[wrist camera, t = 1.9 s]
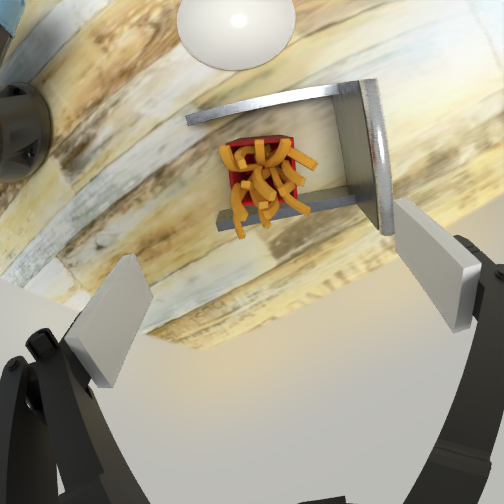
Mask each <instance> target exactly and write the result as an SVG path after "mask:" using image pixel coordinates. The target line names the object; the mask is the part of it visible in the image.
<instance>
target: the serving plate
mask: <svg viewBox="0 0 504 504" xmlns="http://www.w3.org/2000/svg"><path fill="white" fill-rule="evenodd" d="M294 26H295V10H294V6H293V3H292V0H182V2H181V5H180V7H179V10H178V15H177V29H178V33H179V36H180V39H181V41H182V43H183V45H184V46H185V47H186V49H187V50H188V51H189V52H190V53H191V54H192V55H193V56H194V57H195V58H197V59H198V60H200V61H201V62H203V63H205V64H207V65H209V66H212V67H215V68H218V69H224V70H245V69H250V68H254V67H257V66H260V65H262V64H264V63H266V62H268V61H270V60H271V59H273V58H274V57H275V56H277V55H278V54H279V53H280V52H281V51H282V50H283V49H284V47H285V46H286V45H287V43H288V42H289V40H290V38H291V36H292V33H293V30H294Z"/></svg>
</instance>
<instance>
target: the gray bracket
mask: <svg viewBox="0 0 504 504" xmlns="http://www.w3.org/2000/svg"><path fill="white" fill-rule="evenodd" d="M328 95H332V100H333V105H334V110H335V115H336V120H337V125H338V131H339V136H340V142H341V148H342V154H343V160H344V167H345V173H346V180H347V186H342V187H336V188H331V189H326V190H320V191H315V192H310V193H305V194H300V195H297V200H298V201H299V202H301V203H303V204H305V205H307V206H309V207H311V212H310V213H312V212H317V211H322V210H327V209H332V208H338V207H343V206H348V205H353V204H357V205H358V206H359V207H360V209H361V210H362V211H363V212H364V213H365V215H366V216H367V217H368V218H369V220H370V221H371V222H372V223H373V225H374V226H375V227H376V228H377V230H379V231H380V234H381V235H384V236H390V235H393V234H395V228H394V211H393V200H394V197H393V185H392V174H391V165H390V156H389V147H388V140H387V132H386V126H385V119H384V113H383V107H382V101H381V95H380V90H379V85H378V80H377V78H376V79H365V80H357V81H350V82H344V83H338V84H331V85H324V86H317V87H310V88H304V89H298V90H293V91H287V92H282V93H276V94H271V95H267V96H262V97H257V98H252V99H248V100H244V101H239V102H235V103H231V104H227V105H223V106H219V107H215V108H211V109H208V110H204V111H200V112H197V113H193V114H190V115H187V116H186V120H187V124H188V126H189V125H193V124H196V123H200V122H203V121H207V120H211V119H215V118H219V117H223V116H226V115H231V114H235V113H239V112H243V111H247V110H252V109H256V108H261V107H266V106H271V105H276V104H281V103H286V102H291V101H297V100H303V99H309V98H315V97H321V96H328ZM268 206H269V204H268ZM244 208H245V209H246V211H247V212H248V214H249V215H248V217H247V219H246V221H240V222H241V226H242V227H243V226H248V225H252V224H257V223H261V221H260V218H259V215H258V208H257V207H256V206H255V205H248V206H244ZM265 209H266V208H265ZM233 214H234V212H233V210H232V209H228V210H224V211H220V212H219V215H218V218H217V221H216V225H217V228H218V232H219V231H224V230H229V229H233V228H235V226H234V222H233ZM297 215H302V213H300V212H298V211H297V210H295V209H294V208H292V207H291V206H290V205H288V204H287V203H279V209H278V211H277V212H276V214H275V215H274V216H273V217H272V218H271V219H269V221H272V220H277V219H282V218H287V217H292V216H297Z"/></svg>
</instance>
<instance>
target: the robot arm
mask: <svg viewBox="0 0 504 504" xmlns="http://www.w3.org/2000/svg"><path fill="white" fill-rule="evenodd" d="M24 9H25V0H0V68H1V65H2V62H3V60H4V57H5V55H6V52H7V50H8V47H9V45H10V43H11V40H12V38H14V37H15V30H16V27H17V25H18V23H19V20H20V18H21V16H22V14H23V11H24ZM49 138H50V120H49V114H48V110H47V107H46V104H45V102H44V100H43V98H42V96H41V95H40V93H39V92H38V91H37V90H36V89H35V88H33V87H32V86H30V85H28V84H25V83H10V84H5V85H2V86H0V183H14V182H17V181H20V180H22V179H24V178H26V177H28V176H30V175H31V174H32V173H34V172H35V171H36V170H37V168H38V167H39V166H40V164H41V163H42V161H43V159H44V157H45V154H46V152H47V148H48V144H49ZM393 211H394V228H395V251H396V252H397V253H398V255H399V256H400V257H401V259H402V260H403V261H404V263H405V264H406V265H407V267H408V268H409V269H410V271H411V272H412V274H413V275H414V276H415V278H416V279H417V280H418V282H419V283H420V285H421V286H422V287H423V289H424V290H425V292H426V293H427V295H428V296H429V298H430V299H431V300H432V302H433V303H434V305H435V306H436V308H437V309H438V311H439V312H440V314H441V315H442V317H443V318H444V320H445V321H446V323H447V324H448V326H449V328H450V329H451V330H452V332H453V333H457V332H459V331H462V330H465V329H468V328H470V326H471V321H472V316H474V317H475V318H476V320H477V321H478V323H477V327H476V331H475V335H474V338H473V342H472V346H471V349H470V353H469V356H468V360H467V363H466V366H465V369H464V372H463V375H462V378H461V381H460V384H459V387H458V390H457V392H456V395H455V398H454V401H453V403H452V406H451V408H450V411H449V413H448V416H447V418H446V420H445V423H444V425H443V428H442V430H441V432H440V435H439V437H438V439H437V441H436V443H435V445H434V447H433V450H432V451H431V453H430V455H429V458H428V459H427V462H426V464H425V465H424V467H423V469H422V471H421V473H420V475H419V477H418V478H417V480H416V482H415V484H414V486H413V488H412V489H411V491H410V493H409V494H408V496H407V498H406V499H405V501H404V503H403V504H477V503H478V501H479V499H480V496H481V494H482V492H483V489H484V487H485V484H486V482H487V479H488V476H489V473H490V470H491V465H492V463H491V462H490V456H491V453H492V450H493V446H494V443H495V440H496V437H497V434H498V430H499V427H500V423H501V419H502V415H503V411H504V264H497V265H496V264H495V263H494V262H493V261H492V260H490V259H489V258H488V257H487V256H486V255H485V254H484V253H483V252H482V251H480V250H479V249H478V248H477V247H476V246H475V245H474V244H473V243H472V242H471V241H469V240H468V239H466V238H464V237H462V236H460V235H456V236H452V235H451V234H450V233H448V232H447V231H446V230H445V229H444V228H443V227H442V226H440V225H439V224H438V223H437V222H436V221H435V220H433V219H432V218H431V217H430V216H429V215H427V214H426V213H425V212H424V211H423V210H421V209H420V208H419V207H418V206H417V205H415V204H414V203H413V202H412V201H410V200H409V199H408V198H401V199H396V200H393ZM152 299H153V295H152V292H151V290H150V288H149V286H148V283H147V281H146V279H145V276H144V274H143V272H142V269H141V267H140V265H139V262H138V260H137V257H136V255H135V253H133V254H129V255H124V256H122V257H121V259H120V260H119V261H118V263H117V264H116V265H115V267H114V268H113V269H112V271H111V272H110V273H109V275H108V276H107V277H106V279H105V280H104V281H103V283H102V284H101V285H100V287H99V288H98V290H97V291H96V292H95V294H94V295H93V297H92V298H91V299H90V301H89V302H88V304H87V305H86V307H85V308H84V309H83V310H82V311H81V312H80V313H79V314H78V316H77V317H76V318H75V320H74V322H73V323H72V324H71V326H70V328H69V329H68V330H67V332H66V333H65V335H64V336H63V338H62V339H61V341H60V342H59V343H58V341H57V340H56V338H55V337H54V335H53V334H52V332H51V330H50V329H49V328H43V329H40V330H38V331H36V332H35V333H34V334H32V335H31V336H30V337H29V338H28V340H27V342H26V345H25V346H26V347H27V349H28V350H29V352H30V353H31V354H32V356H33V357H34V359H35V360H36V362H33V363H30V364H28V363H27V361H26V360H25V359H24V357H23V356H17V357H14V358H12V359H10V360H9V361H8V362H7V364H6V365H5V367H4V369H3V372H2V376H1V379H0V504H150V502H149V501H148V499H147V497H146V496H145V494H144V493H143V491H142V489H141V487H140V486H139V484H138V483H137V481H136V479H135V477H134V476H133V474H132V472H131V470H130V468H129V467H128V465H127V463H126V461H125V459H124V457H123V455H122V453H121V451H120V450H119V448H118V446H117V444H116V442H115V440H114V438H113V436H112V434H111V431H110V430H109V427H108V425H107V423H106V421H105V419H104V416H103V414H102V412H101V410H100V407H99V405H98V403H97V400H96V398H95V396H94V393H93V391H92V389H91V388H90V387H89V386H88V384H89V382H90V379H92V380H93V381H94V383H95V384H96V385H97V387H98V388H113V386H114V383H115V381H116V379H117V377H118V374H119V372H120V370H121V367H122V365H123V363H124V360H125V358H126V355H127V353H128V351H129V349H130V347H131V344H132V342H133V340H134V338H135V336H136V333H137V331H138V329H139V327H140V325H141V322H142V320H143V318H144V316H145V314H146V312H147V310H148V307H149V305H150V303H151V301H152ZM27 404H28V405H29V406H30V408H29V407H28V405H27ZM56 463H57V465H56ZM56 466H58V470H59V473H60V476H61V479H62V482H63V485H64V488H65V492H64V493H62V494H60V495H59V497H58V486H57V468H56ZM298 504H351V503H346V499H345V496H340V497H335V498H328V499H322V500H315V501H307V502H301V503H298Z"/></svg>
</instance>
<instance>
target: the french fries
mask: <svg viewBox="0 0 504 504" xmlns="http://www.w3.org/2000/svg"><path fill="white" fill-rule="evenodd" d="M219 152H220V155H221V157H222V160H223V162H224V164H225V166H226V167H227V168H228V170H229V178H230V186H231V194H230V205H231V207H232V210H233V212H234V214H233V222H234V226H235V229H236V232H237V235H238V237H239V240H240V239H243V238H245V233H244V230H243V228H242V226H241V222H240V221H246V219H247V217H248V215H249V214H248V212H247V211H246V209H245V208H244V206H248V205H255V206H256V207H257V208H258V215H259V218H260V221H261V223H262V226H263V228H269V226H270V225H271V223H270V221H269V219H271V218H272V217H273V216H274V215H275V214H276V212H277V211H278V209H279V203H287V204H288V205H290V206H291V207H292V208H294V209H295V210H297V211H298V212H300V213H302V214H304V215H305V216H308V215H309V213H310V212H311V207H309V206H307V205H305V204H303V203H301V202H299V201H298V200H297V185H298V186H304V183H305V180H306V178H304V177H303V176H301V175H300V174H298V173H297V172H296V168H295V161H297V162H299V163H300V164H302V165H304V166H305V167H307V168H309V169H310V170H312V171H314V169H315V168H316V166H317V165H318V163H317V162H316V161H315V160H313V159H311V158H310V157H308V156H306V155H305V154H303V153H301V152H299V151H297V150H296V149H294V139H293V137H288V136H283V135H272V136H259V137H248V138H240V139H237V140H234V141H231V142H229V143H226V144H225V146H220V149H219ZM268 204H269V206H268ZM265 208H266V209H265Z"/></svg>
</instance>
